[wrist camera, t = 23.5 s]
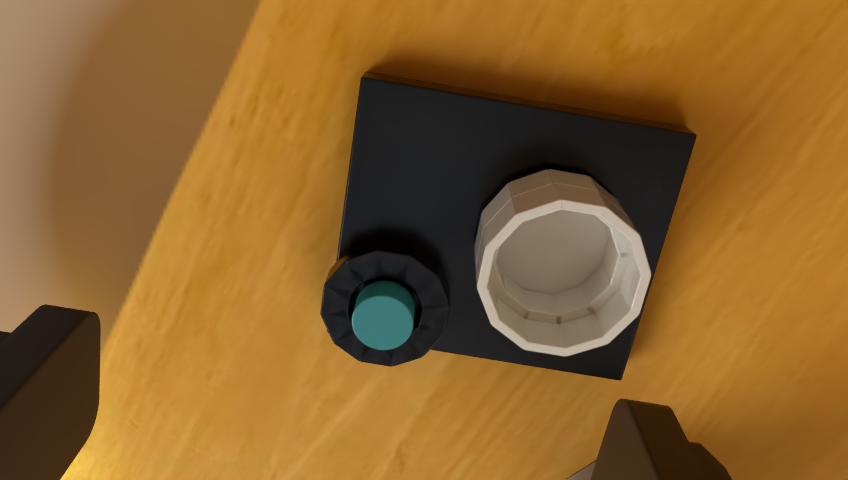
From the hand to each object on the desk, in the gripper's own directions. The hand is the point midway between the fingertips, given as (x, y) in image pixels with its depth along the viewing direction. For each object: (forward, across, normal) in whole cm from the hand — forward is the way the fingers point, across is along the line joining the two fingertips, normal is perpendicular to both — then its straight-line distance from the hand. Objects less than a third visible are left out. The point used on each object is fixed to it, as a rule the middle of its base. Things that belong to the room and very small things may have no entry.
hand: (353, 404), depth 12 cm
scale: (+22, -5, +5) cm, 23 cm away
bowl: (+21, -7, +4) cm, 22 cm away
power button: (+20, -1, +8) cm, 21 cm away
